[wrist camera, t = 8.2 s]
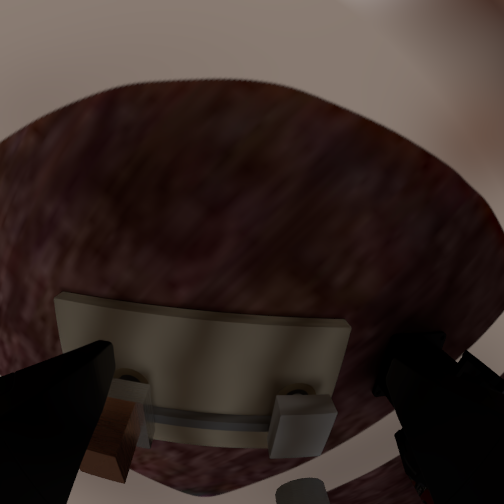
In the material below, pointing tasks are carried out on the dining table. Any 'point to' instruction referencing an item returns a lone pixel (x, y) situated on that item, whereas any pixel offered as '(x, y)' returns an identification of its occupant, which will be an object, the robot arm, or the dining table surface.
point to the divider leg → (120, 430)
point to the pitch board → (220, 370)
